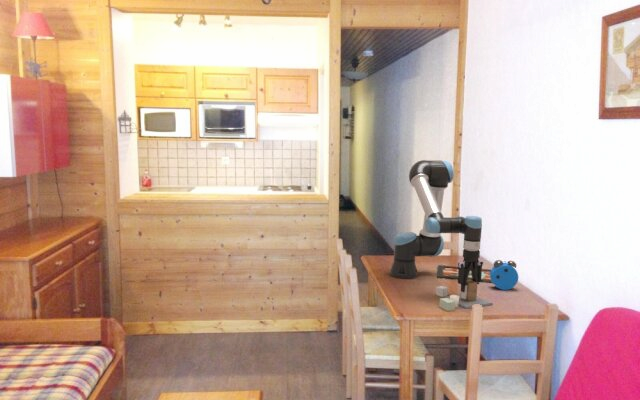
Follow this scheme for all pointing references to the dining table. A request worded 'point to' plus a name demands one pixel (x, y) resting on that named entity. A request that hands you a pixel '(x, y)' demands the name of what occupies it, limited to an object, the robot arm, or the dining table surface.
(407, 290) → the dining table surface
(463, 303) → the grey mat
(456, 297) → the cream cylinder
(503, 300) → the dining table surface
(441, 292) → the white cube
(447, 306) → the sage block
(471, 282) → the walnut block
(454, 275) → the painting
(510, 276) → the alarm clock
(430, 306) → the dining table surface
